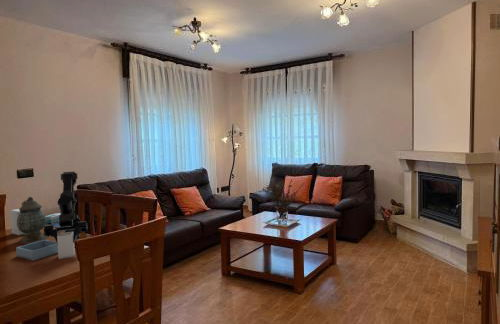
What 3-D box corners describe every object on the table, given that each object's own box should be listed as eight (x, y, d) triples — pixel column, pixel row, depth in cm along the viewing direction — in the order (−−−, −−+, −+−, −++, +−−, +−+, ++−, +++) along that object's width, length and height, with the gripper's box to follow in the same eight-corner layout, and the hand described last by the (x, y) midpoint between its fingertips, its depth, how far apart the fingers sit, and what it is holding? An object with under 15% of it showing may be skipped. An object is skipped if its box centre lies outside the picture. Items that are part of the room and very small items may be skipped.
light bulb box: (53, 234, 201) (51, 216, 200) (43, 233, 202) (42, 216, 201) (66, 229, 211) (65, 213, 210) (57, 229, 213) (56, 212, 212)
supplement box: (18, 235, 200) (16, 211, 199) (11, 233, 204) (9, 210, 203) (34, 231, 207) (32, 208, 206) (27, 230, 212) (26, 207, 211)
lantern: (19, 245, 180) (15, 200, 179) (17, 239, 191) (14, 197, 190) (48, 239, 189) (45, 196, 187) (45, 234, 200) (42, 194, 199)
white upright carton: (60, 254, 162) (58, 233, 162) (74, 252, 165) (73, 231, 164) (58, 259, 156) (57, 236, 156) (73, 256, 159) (72, 234, 158)
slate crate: (45, 247, 174) (45, 239, 174) (61, 251, 167) (61, 242, 167) (16, 256, 162) (16, 247, 161) (32, 260, 155) (32, 251, 155)
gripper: (42, 209, 159) (40, 237, 150) (85, 205, 166) (85, 232, 157) (46, 222, 167) (44, 249, 157) (87, 217, 174) (87, 243, 165)
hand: (65, 243), depth 159 cm, fingers closed on white upright carton, 6 cm apart
